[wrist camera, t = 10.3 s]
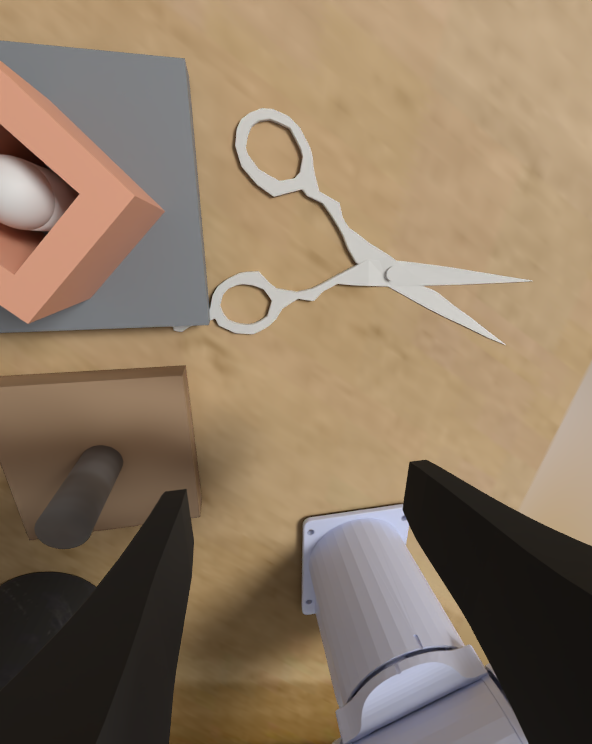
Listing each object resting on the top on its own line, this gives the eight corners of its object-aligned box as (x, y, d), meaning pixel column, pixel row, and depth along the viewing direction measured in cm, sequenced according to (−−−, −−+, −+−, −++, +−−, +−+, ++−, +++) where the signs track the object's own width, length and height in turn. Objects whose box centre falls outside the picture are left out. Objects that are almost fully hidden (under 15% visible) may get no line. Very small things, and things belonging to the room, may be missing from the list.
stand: (201, 499, 21) (193, 589, 16) (43, 519, 20) (-29, 626, 14) (185, 365, 18) (167, 419, 12) (-6, 376, 16) (-124, 444, 11)
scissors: (206, 82, 14) (569, 223, 19) (207, 90, 14) (556, 224, 20) (170, 330, 17) (488, 393, 22) (173, 326, 18) (480, 388, 23)
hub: (210, 318, 17) (202, 353, 12) (-11, 325, 16) (-141, 371, 10) (188, 77, 14) (163, -34, 8) (-102, 51, 12) (-381, -112, 6)
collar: (165, 211, 14) (134, 195, 9) (90, 298, 15) (27, 324, 10) (49, 100, 12) (-60, 12, 8) (-31, 206, 13) (-177, 184, 8)
